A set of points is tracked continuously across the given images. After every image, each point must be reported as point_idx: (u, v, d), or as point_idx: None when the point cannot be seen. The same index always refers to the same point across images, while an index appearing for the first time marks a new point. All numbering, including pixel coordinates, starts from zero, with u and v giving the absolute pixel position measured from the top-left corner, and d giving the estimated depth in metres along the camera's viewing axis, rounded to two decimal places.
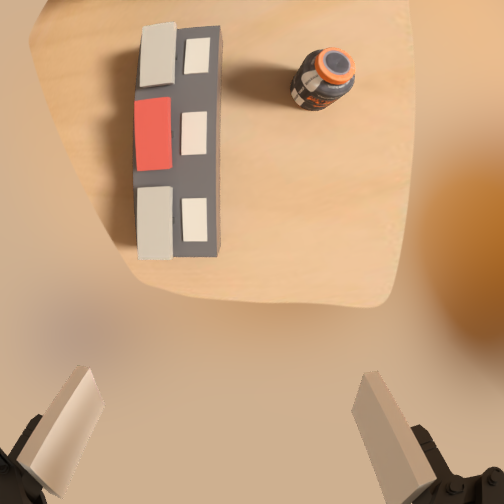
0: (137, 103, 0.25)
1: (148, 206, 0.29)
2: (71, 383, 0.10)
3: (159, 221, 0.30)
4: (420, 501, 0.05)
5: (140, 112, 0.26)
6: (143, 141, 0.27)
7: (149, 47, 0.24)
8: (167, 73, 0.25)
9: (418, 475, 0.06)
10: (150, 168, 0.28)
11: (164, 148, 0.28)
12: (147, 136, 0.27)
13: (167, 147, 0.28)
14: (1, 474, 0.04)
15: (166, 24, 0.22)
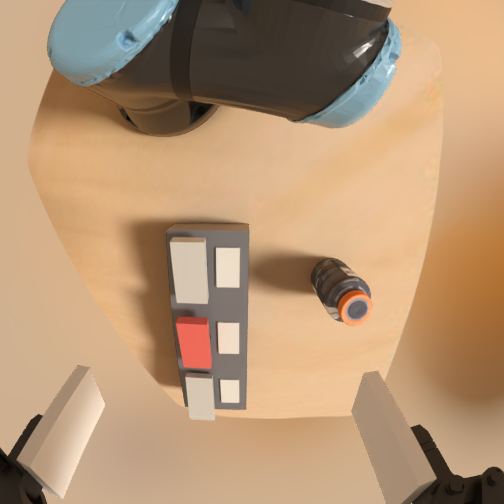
0: (179, 325, 0.33)
1: (195, 389, 0.37)
2: (71, 383, 0.10)
3: (205, 399, 0.37)
4: (420, 501, 0.05)
5: (183, 332, 0.33)
6: (188, 351, 0.35)
7: (181, 267, 0.31)
8: (202, 295, 0.33)
9: (418, 475, 0.06)
10: (195, 367, 0.36)
11: (206, 357, 0.35)
12: (191, 348, 0.34)
13: (209, 356, 0.35)
14: (1, 474, 0.04)
15: (196, 244, 0.30)
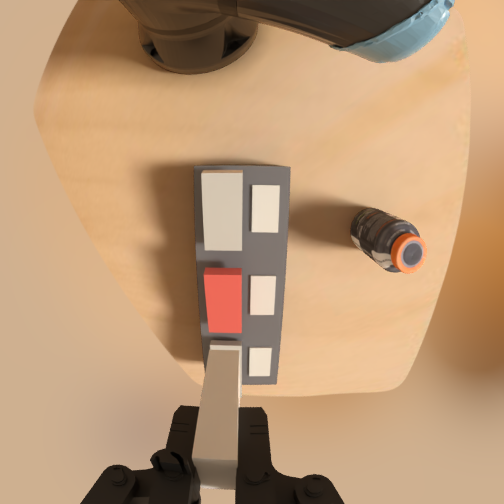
0: (207, 277, 0.28)
1: None
2: (213, 367, 0.12)
3: None
4: None
5: (211, 286, 0.29)
6: (215, 311, 0.30)
7: (212, 204, 0.27)
8: (236, 240, 0.28)
9: (219, 449, 0.08)
10: (222, 331, 0.32)
11: (237, 318, 0.31)
12: (220, 307, 0.30)
13: (240, 317, 0.31)
14: (167, 480, 0.06)
15: (232, 175, 0.25)
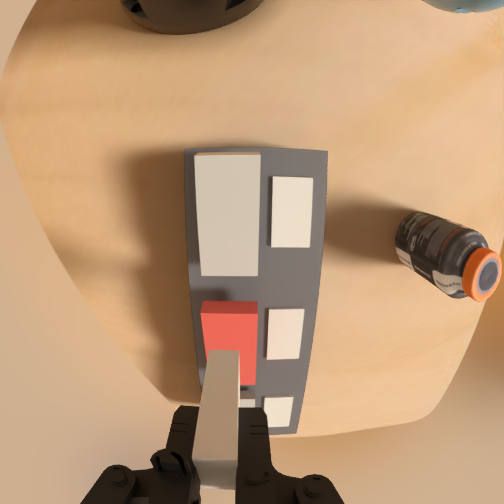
0: (206, 317, 0.18)
1: None
2: (213, 367, 0.12)
3: None
4: None
5: (212, 329, 0.19)
6: None
7: (213, 205, 0.17)
8: (250, 260, 0.19)
9: (219, 449, 0.08)
10: None
11: (249, 368, 0.21)
12: None
13: (254, 367, 0.21)
14: (167, 480, 0.06)
15: (245, 159, 0.16)
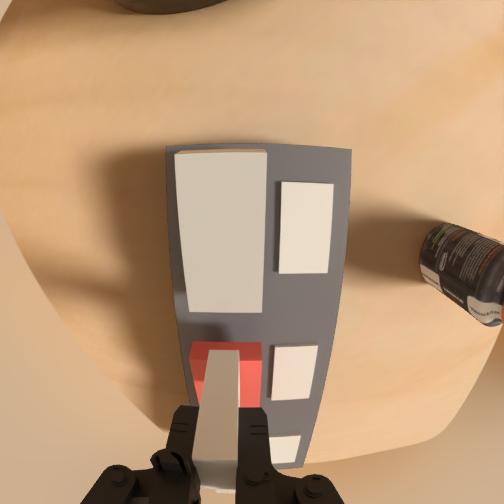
0: (197, 363, 0.14)
1: None
2: (213, 367, 0.12)
3: None
4: None
5: None
6: None
7: (201, 222, 0.12)
8: (252, 294, 0.14)
9: (219, 449, 0.08)
10: None
11: None
12: None
13: None
14: (168, 480, 0.06)
15: (245, 159, 0.11)
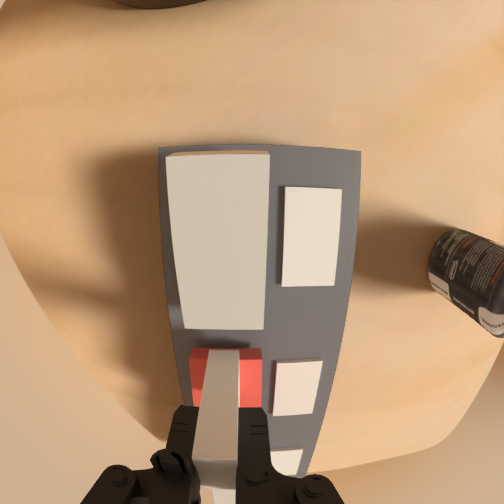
0: (196, 364, 0.14)
1: None
2: (213, 367, 0.12)
3: None
4: None
5: None
6: None
7: (196, 233, 0.11)
8: (253, 310, 0.13)
9: (219, 449, 0.08)
10: None
11: None
12: None
13: None
14: (167, 480, 0.06)
15: (245, 161, 0.10)
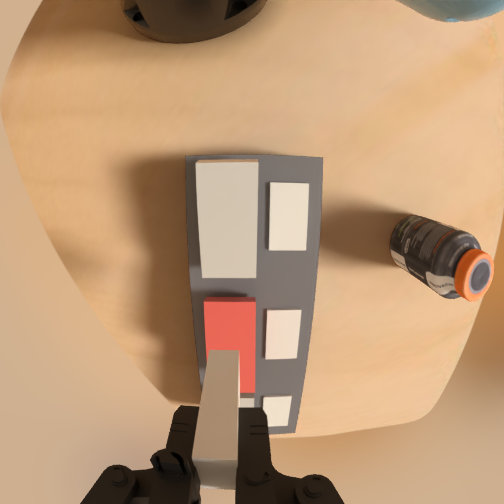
0: (209, 306, 0.20)
1: None
2: (213, 367, 0.12)
3: None
4: None
5: (214, 319, 0.21)
6: None
7: (213, 210, 0.18)
8: (249, 263, 0.19)
9: (220, 449, 0.08)
10: None
11: (249, 370, 0.21)
12: None
13: (254, 368, 0.21)
14: (167, 480, 0.06)
15: (243, 166, 0.17)
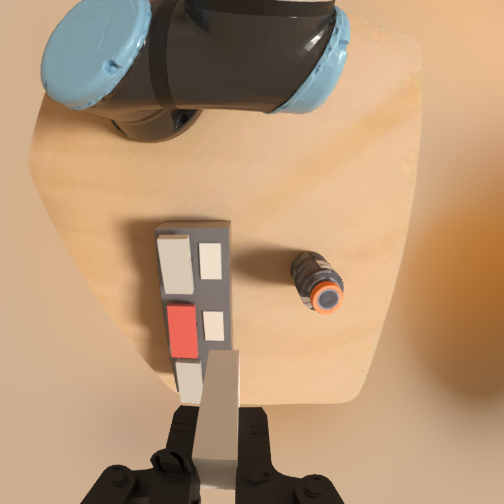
0: (169, 308, 0.37)
1: (185, 374, 0.40)
2: (213, 366, 0.12)
3: (194, 383, 0.41)
4: None
5: (172, 315, 0.38)
6: (176, 337, 0.38)
7: (167, 261, 0.35)
8: (188, 286, 0.36)
9: (219, 449, 0.08)
10: (182, 356, 0.38)
11: (192, 344, 0.38)
12: (179, 334, 0.38)
13: (195, 343, 0.38)
14: (167, 480, 0.06)
15: (179, 241, 0.34)
